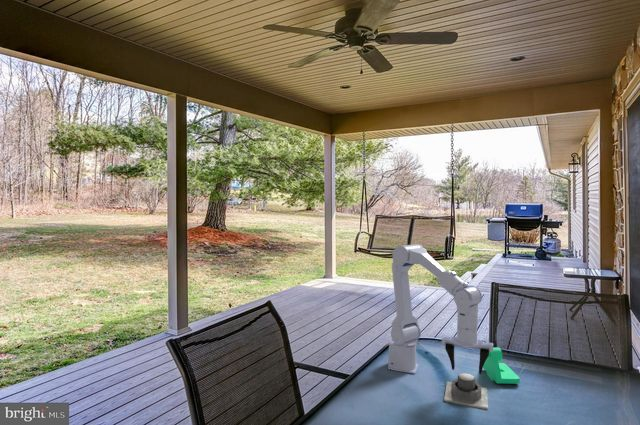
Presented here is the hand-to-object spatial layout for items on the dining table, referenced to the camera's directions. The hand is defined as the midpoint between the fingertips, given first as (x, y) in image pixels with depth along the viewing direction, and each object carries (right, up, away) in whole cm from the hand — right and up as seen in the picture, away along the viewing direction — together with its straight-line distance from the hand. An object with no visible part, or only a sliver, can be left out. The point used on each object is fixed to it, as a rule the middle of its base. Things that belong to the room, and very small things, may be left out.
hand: (466, 370), depth 118 cm
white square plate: (0, -8, 0) cm, 8 cm away
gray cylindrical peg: (0, -7, 0) cm, 7 cm away
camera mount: (+16, -8, +12) cm, 22 cm away
